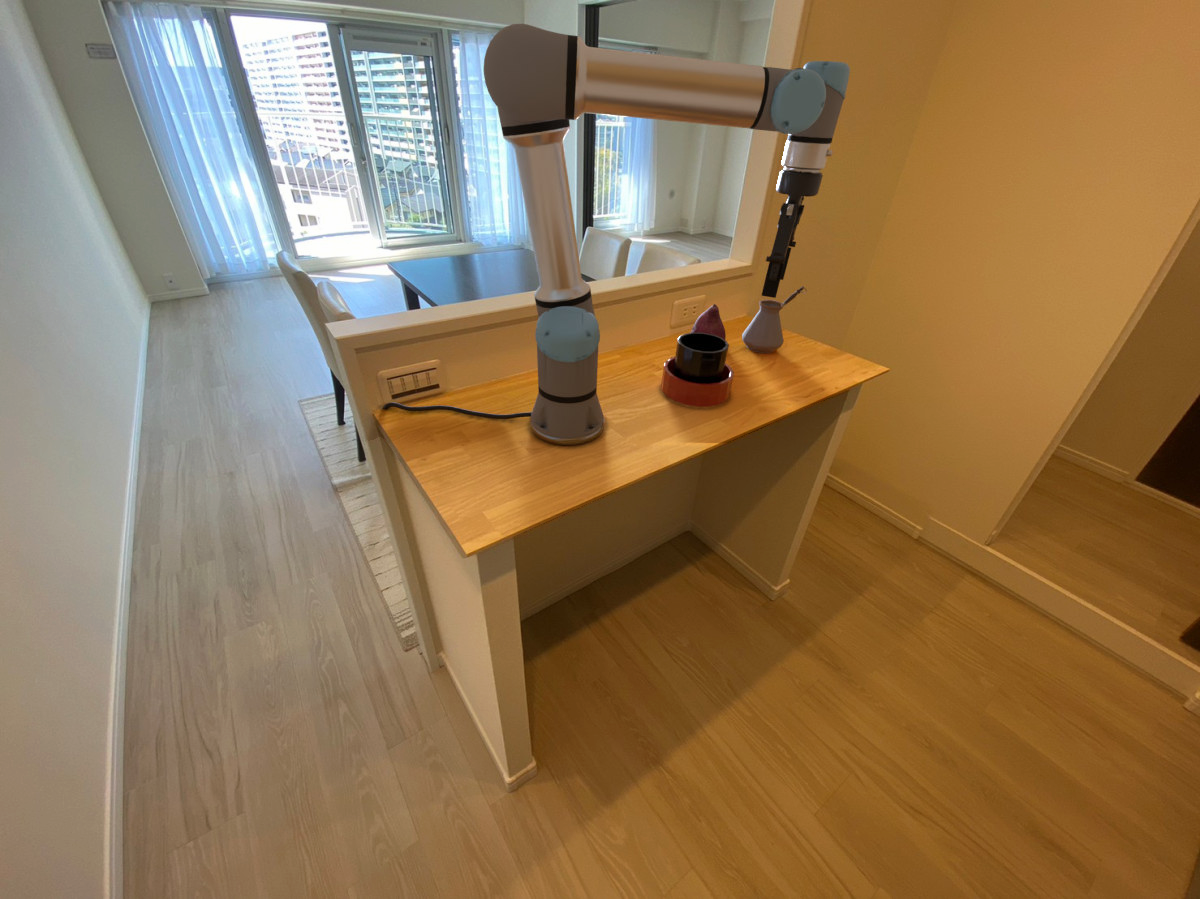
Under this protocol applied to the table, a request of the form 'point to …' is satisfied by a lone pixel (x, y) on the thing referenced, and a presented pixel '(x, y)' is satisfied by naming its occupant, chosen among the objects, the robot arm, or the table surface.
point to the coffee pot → (766, 326)
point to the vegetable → (710, 323)
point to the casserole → (695, 388)
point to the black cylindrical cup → (700, 358)
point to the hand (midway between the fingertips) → (772, 287)
